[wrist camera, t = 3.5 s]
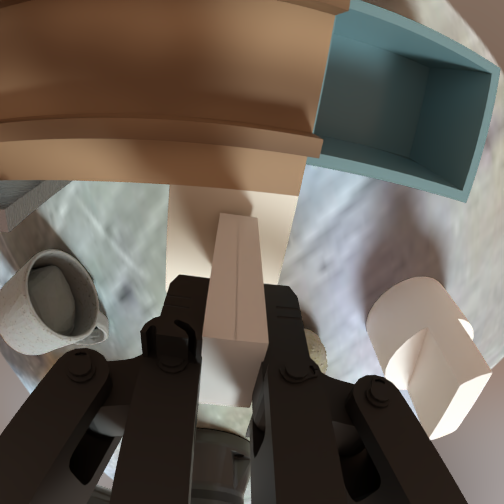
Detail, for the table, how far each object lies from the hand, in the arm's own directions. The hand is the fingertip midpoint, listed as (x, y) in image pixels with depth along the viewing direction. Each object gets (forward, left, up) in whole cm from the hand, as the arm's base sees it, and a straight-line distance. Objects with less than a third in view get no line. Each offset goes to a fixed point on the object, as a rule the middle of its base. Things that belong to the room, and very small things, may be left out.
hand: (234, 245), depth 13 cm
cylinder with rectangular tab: (-11, -18, -10) cm, 24 cm away
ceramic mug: (-13, +14, -10) cm, 22 cm away
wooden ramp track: (+5, +11, 0) cm, 12 cm away
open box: (+7, -7, -10) cm, 14 cm away
